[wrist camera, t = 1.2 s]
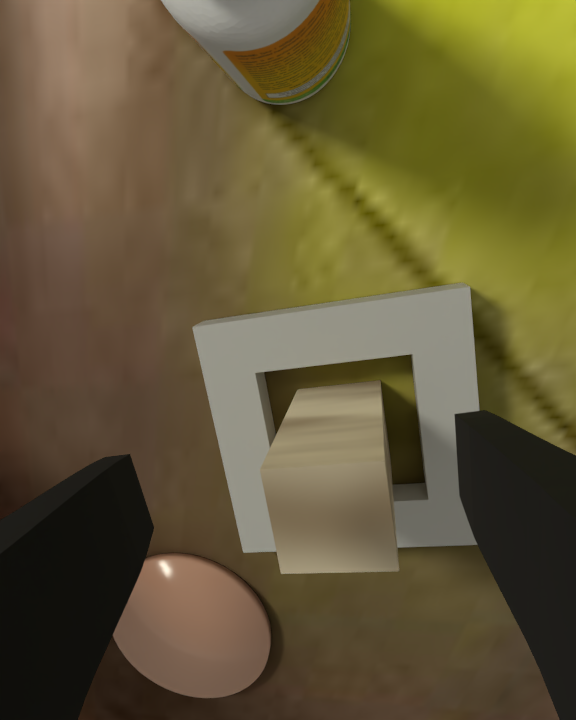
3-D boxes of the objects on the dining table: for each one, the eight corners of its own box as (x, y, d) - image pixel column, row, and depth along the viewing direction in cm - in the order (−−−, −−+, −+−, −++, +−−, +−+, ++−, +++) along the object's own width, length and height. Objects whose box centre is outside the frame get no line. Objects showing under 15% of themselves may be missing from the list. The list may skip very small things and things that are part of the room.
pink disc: (285, 691, 28) (283, 701, 27) (136, 686, 30) (131, 695, 29) (254, 550, 26) (251, 557, 25) (94, 555, 28) (89, 562, 27)
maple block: (390, 456, 23) (399, 571, 15) (310, 463, 24) (281, 573, 16) (380, 380, 22) (384, 460, 14) (297, 389, 23) (259, 469, 15)
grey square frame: (482, 524, 23) (489, 544, 21) (250, 534, 25) (243, 552, 24) (463, 282, 20) (470, 286, 18) (203, 320, 22) (192, 327, 21)
